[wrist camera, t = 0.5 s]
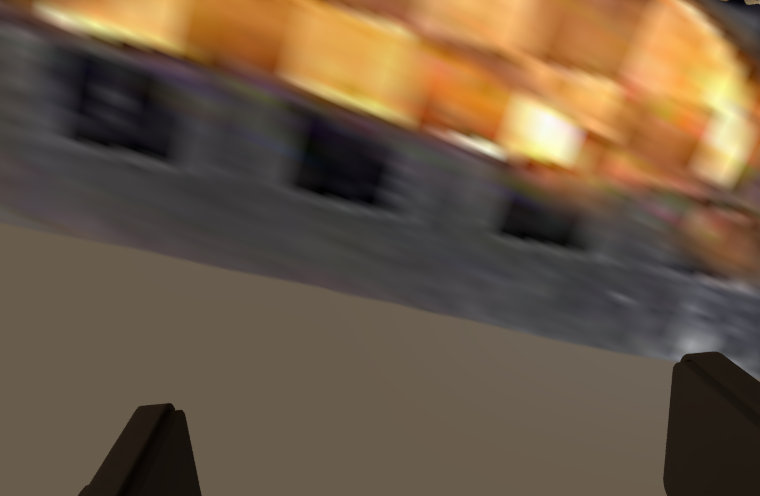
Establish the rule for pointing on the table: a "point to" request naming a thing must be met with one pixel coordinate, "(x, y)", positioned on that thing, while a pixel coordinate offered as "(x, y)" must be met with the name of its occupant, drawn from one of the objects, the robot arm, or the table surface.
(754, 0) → the tan cratered rock
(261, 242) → the table surface
